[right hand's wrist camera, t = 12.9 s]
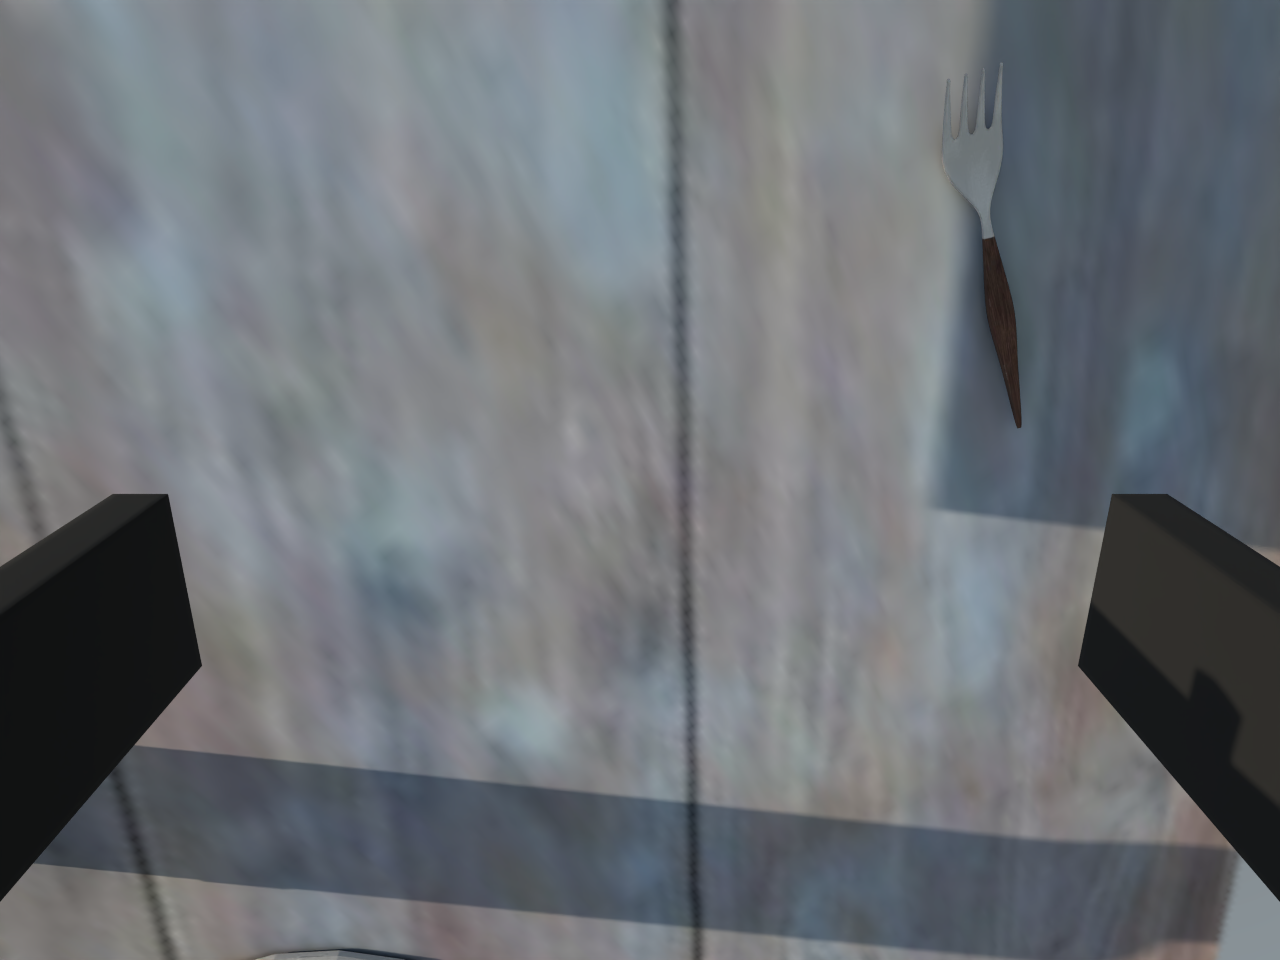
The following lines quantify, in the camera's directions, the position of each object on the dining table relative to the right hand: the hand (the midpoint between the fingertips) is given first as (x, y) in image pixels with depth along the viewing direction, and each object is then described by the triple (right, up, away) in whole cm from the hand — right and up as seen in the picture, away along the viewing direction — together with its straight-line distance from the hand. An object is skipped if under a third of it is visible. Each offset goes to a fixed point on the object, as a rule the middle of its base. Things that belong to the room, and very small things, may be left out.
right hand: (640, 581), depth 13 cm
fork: (+16, +11, +27) cm, 33 cm away
